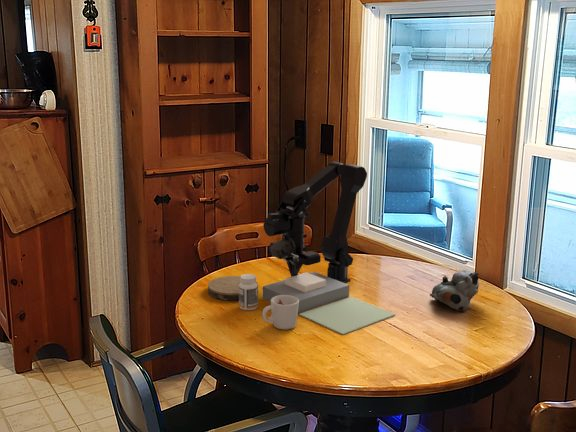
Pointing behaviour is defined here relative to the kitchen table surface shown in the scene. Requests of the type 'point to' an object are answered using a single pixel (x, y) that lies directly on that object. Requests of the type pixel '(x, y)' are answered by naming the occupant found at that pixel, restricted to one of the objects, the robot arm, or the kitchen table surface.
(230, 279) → the grey brown round disc
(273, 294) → the gray rectangular block
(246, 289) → the pill bottle
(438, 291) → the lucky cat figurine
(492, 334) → the kitchen table surface
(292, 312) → the cup
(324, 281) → the ceramic tile
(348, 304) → the rubber mat
